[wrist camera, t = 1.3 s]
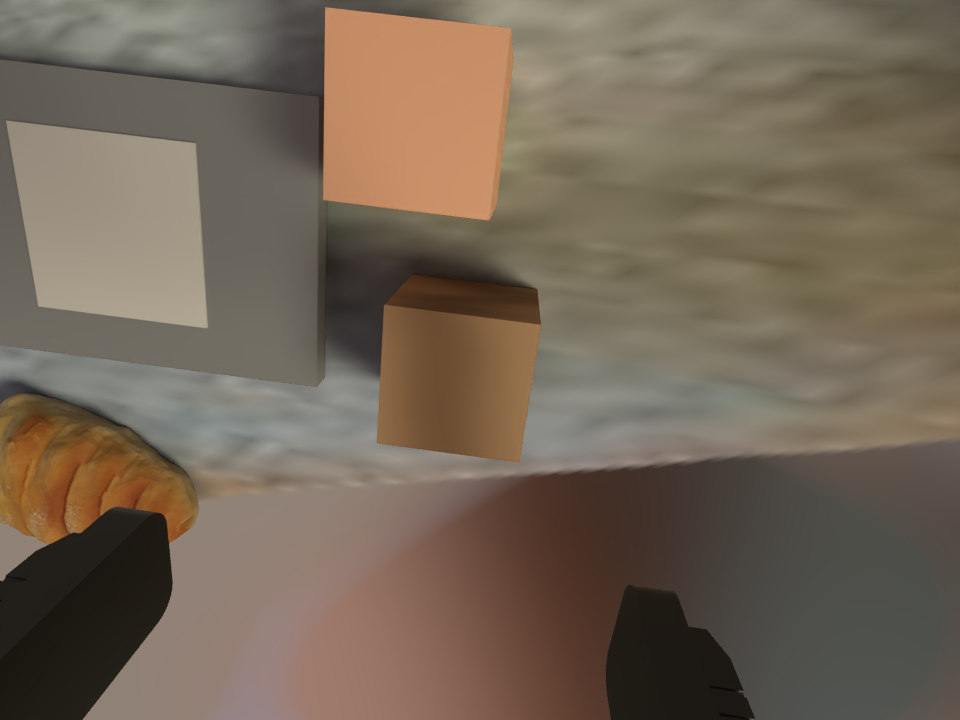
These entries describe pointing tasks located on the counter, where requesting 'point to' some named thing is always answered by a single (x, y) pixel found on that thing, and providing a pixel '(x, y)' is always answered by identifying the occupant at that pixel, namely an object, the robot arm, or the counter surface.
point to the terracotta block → (414, 112)
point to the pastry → (81, 471)
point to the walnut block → (457, 366)
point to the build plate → (162, 222)
